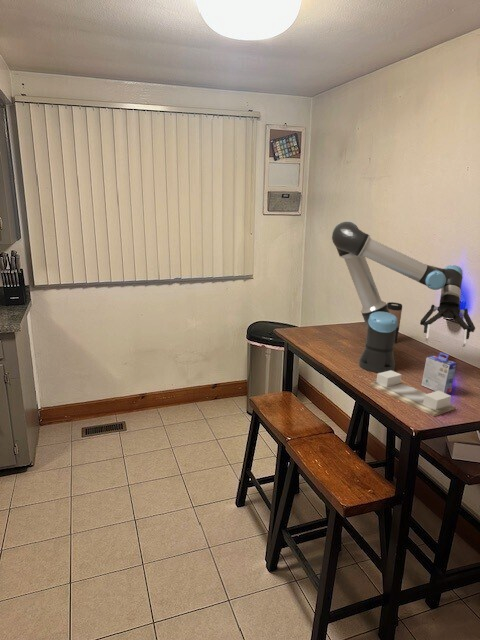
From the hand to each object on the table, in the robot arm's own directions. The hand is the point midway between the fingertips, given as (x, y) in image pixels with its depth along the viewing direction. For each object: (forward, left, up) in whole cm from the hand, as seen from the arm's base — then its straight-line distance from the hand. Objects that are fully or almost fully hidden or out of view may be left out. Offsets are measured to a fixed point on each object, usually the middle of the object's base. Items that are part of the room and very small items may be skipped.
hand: (445, 342), depth 175 cm
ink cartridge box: (-1, -9, -17) cm, 19 cm away
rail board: (-10, -22, -17) cm, 29 cm away
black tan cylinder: (-23, +46, -17) cm, 54 cm away
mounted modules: (-10, -22, -15) cm, 28 cm away
